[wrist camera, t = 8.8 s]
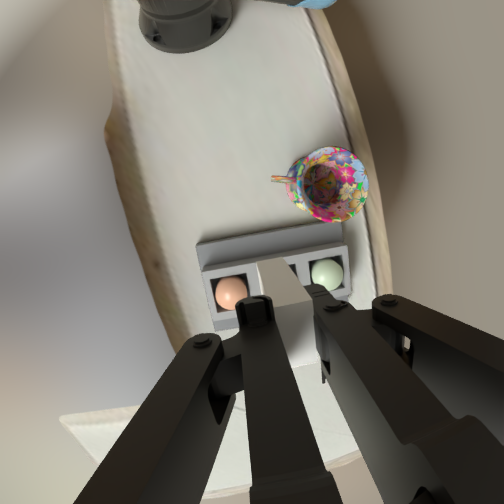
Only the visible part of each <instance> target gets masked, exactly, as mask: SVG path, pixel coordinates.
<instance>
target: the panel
mask: <svg viewBox="0 0 504 504" xmlns="http://www.w3.org/2000/svg"><path fill="white" fill-rule="evenodd" d="M196 251H197V256H198V261H199V265H200V270H201V274H202V279H203V283H204V287H205V292H206V296H207V300H208V305H209V309H210V313H211V317H212V321H213V325H214V329H215V332H216V331H222V330H228V329H234V328H239V323H238V319H237V314H236V309H235V310H228V309H225V308H223V307H221V306H220V305H219V304H218V302H217V300H216V287H217V282H218V280H219V279H220V277H225V276H231V275H237V274H238V275H240V276H241V277H242V278H243V279H244V281H245V283H246V289H247V297H250V296H256V295H262V294H261V289H260V283H259V277H258V271H257V265H256V262H257V261H263V260H268V259H273V258H279V257H283V258H284V260H285V261H286V263H287V264H288V266H289V267H290V268H291V270H292V271H293V273H294V274H295V275H296V277H297V278H298V280H299V281H300V283H301V284H302V285H303V286H306V285H311V284H315V283H314V282H313V281H312V280H311V278H310V272H309V265H310V263H311V262H312V261H313V260H316V259H322V258H327V257H329V258H331V259H332V260H334V261H335V262H336V263H337V264H339V265H340V266H341V268H342V270H343V279H342V282H341V284H340V285H339V286H338V287H337V288H336V289H334V290H331V291H329V292H330V294H332V295H333V297H334V298H335V299H336V300H344V301H347V302H348V295H349V294H351V284H350V270H349V258H348V247H347V245H346V244H344V243H343V234H342V225H341V222H335V223H334V222H326V221H321V222H315V223H309V224H303V225H298V226H292V227H286V228H280V229H275V230H269V231H264V232H258V233H252V234H247V235H241V236H236V237H230V238H225V239H220V240H214V241H209V242H203V243H198V244H196Z"/></svg>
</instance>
